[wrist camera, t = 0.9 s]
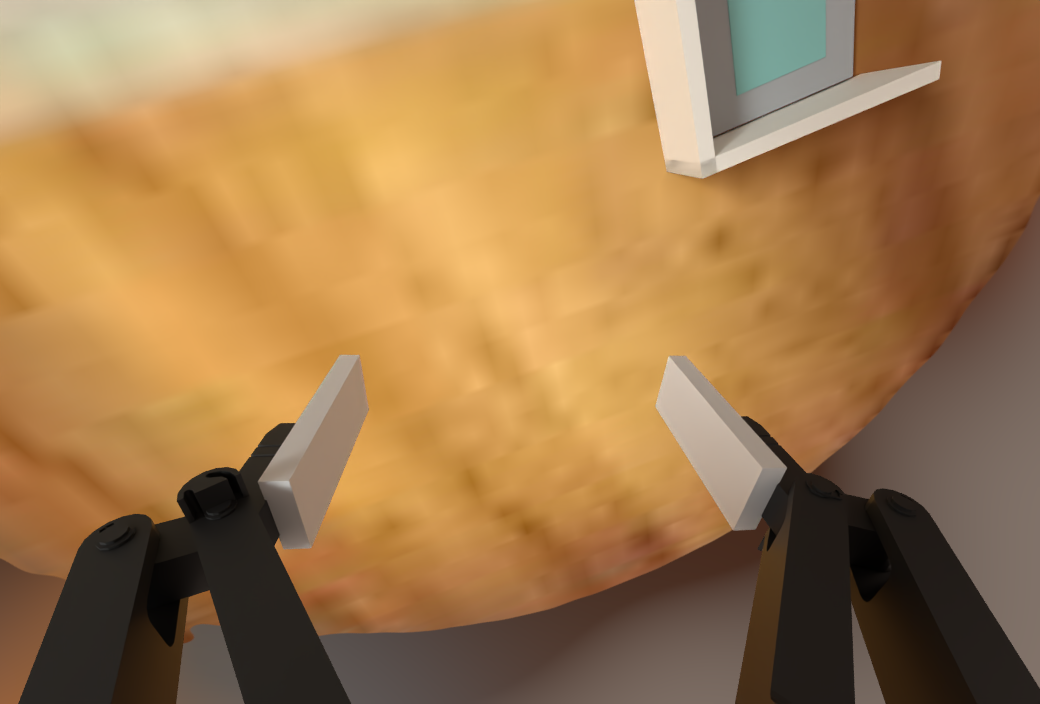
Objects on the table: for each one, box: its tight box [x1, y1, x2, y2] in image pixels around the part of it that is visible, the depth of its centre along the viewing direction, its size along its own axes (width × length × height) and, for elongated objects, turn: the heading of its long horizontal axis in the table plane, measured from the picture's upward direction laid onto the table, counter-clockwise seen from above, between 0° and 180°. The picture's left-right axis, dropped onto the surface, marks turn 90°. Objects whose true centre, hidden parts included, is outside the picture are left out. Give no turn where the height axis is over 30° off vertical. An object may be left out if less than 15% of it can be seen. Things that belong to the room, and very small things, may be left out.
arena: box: [634, 0, 941, 179], centre depth 29 cm, size 18×18×7 cm
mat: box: [695, 0, 855, 137], centre depth 31 cm, size 16×15×1 cm
